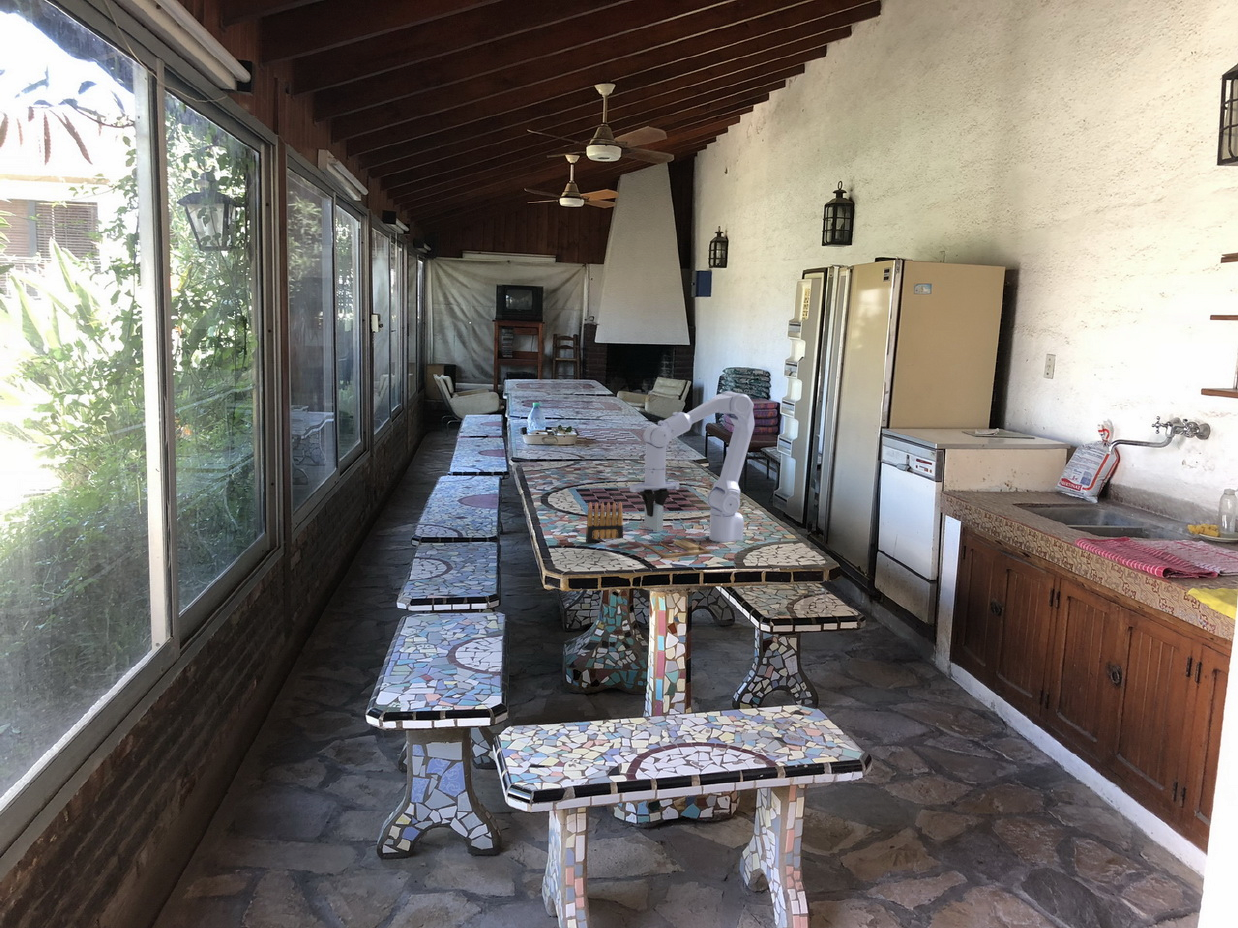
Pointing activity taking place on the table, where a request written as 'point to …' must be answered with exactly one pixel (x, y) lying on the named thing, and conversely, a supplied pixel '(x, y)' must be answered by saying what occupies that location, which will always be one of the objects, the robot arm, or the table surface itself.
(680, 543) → the offcut oak
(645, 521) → the block
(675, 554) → the rack
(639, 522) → the table surface
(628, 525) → the table surface
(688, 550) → the offcut birch
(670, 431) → the robot arm
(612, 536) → the ammunition clip
